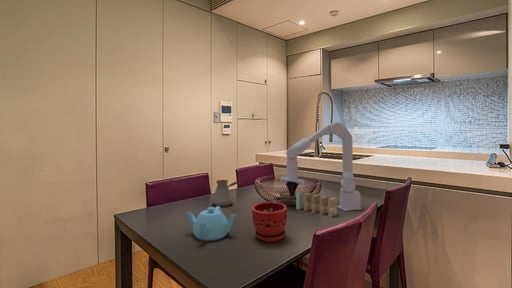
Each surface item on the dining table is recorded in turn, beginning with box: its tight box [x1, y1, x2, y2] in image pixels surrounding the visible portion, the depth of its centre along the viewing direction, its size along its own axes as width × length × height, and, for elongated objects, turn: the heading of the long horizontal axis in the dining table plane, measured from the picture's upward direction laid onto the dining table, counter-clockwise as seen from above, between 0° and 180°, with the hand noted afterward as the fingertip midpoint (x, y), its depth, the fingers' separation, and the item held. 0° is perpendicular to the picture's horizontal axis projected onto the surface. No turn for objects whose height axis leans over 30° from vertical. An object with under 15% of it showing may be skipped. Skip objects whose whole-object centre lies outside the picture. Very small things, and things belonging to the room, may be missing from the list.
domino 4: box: [327, 196, 338, 218], centre depth 132 cm, size 2×5×8 cm, turn 136°
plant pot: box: [251, 201, 288, 243], centre depth 107 cm, size 13×13×12 cm
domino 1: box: [303, 192, 313, 212], centre depth 141 cm, size 2×5×8 cm, turn 136°
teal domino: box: [295, 191, 306, 210], centre depth 144 cm, size 2×5×8 cm, turn 136°
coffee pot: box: [211, 179, 242, 208], centre depth 148 cm, size 21×12×15 cm, turn 39°
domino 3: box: [319, 195, 329, 216], centre depth 135 cm, size 2×5×8 cm, turn 136°
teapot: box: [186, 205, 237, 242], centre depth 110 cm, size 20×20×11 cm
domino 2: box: [311, 193, 321, 214], centre depth 138 cm, size 2×5×8 cm, turn 136°
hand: (292, 196), depth 148 cm, fingers closed
